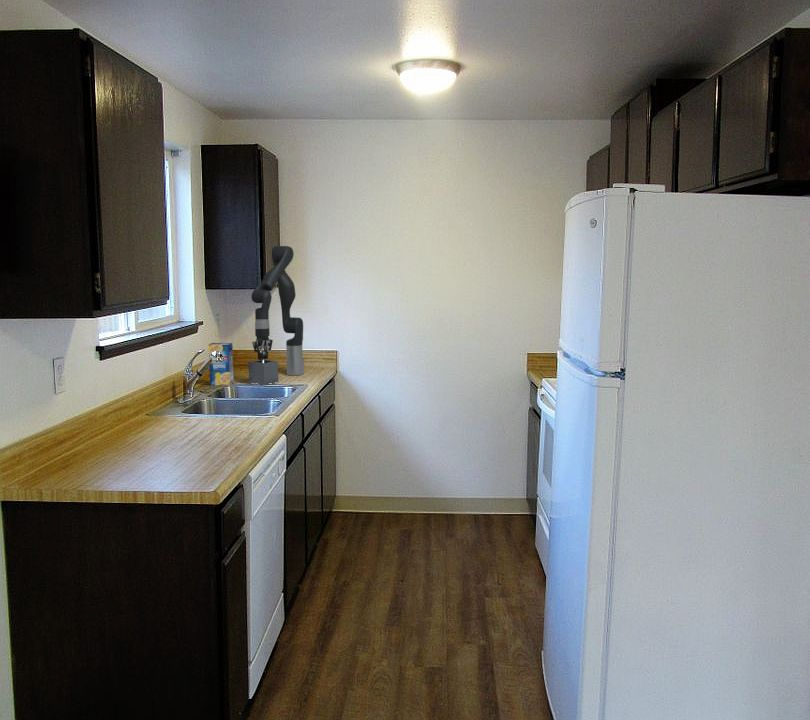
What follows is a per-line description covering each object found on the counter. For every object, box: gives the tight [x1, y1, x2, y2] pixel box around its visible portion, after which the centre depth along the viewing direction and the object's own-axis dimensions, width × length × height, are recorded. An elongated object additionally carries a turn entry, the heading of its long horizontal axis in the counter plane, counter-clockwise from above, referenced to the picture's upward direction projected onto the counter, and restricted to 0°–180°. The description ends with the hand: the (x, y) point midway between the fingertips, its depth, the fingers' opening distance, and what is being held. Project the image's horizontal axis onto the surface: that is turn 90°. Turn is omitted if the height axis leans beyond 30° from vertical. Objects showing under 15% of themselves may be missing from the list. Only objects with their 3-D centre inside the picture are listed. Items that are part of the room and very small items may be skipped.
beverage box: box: [208, 342, 235, 386], centre depth 394 cm, size 7×11×22 cm, turn 87°
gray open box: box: [247, 359, 279, 385], centre depth 398 cm, size 11×11×12 cm
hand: (263, 359), depth 397 cm, fingers closed on plunger, 4 cm apart
